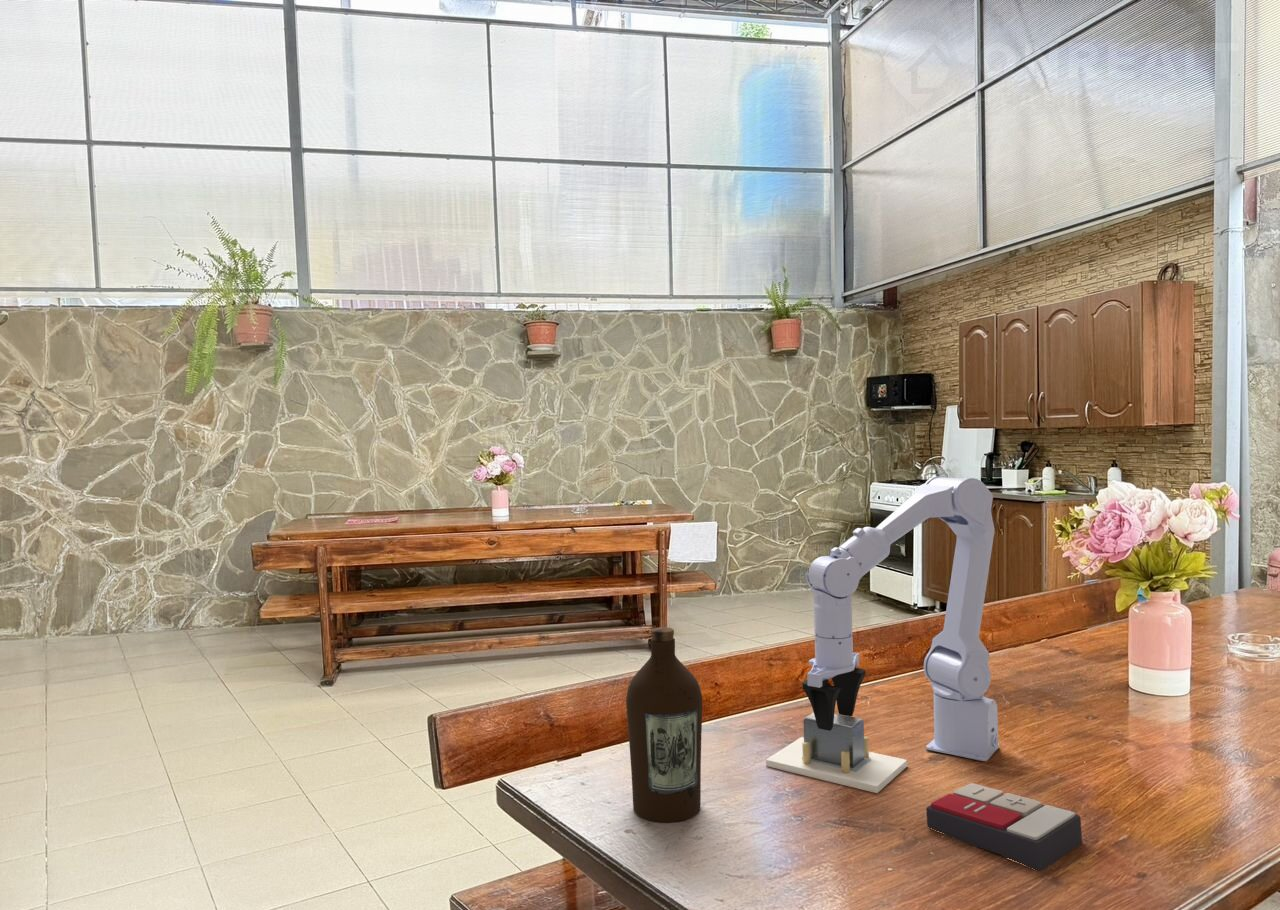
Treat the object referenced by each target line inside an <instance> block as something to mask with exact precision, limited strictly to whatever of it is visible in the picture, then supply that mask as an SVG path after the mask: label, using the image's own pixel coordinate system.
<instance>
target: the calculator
mask: <svg viewBox="0 0 1280 910" xmlns="http://www.w3.org/2000/svg"><path fill="white" fill-rule="evenodd" d="M925 810H926V826H928V827H929V828H932V829H934V830H936V831H939V832H942V833H944V834H946V835H948V836H947V837H949V836H950V837H949V838H951V837H953V838H952V839H954V838H955V839H954V840H957V841H959V840H960V842H962V843H965V844H967V843H968V844H967V845H971V846H974V847H976V848H980V849H982V850H986V851H988V852H991V853H995V854H997V855H1000V856H1002V857H1003V856H1004V857H1006V858H1009V859H1012V860H1014V861H1017V862H1019V863H1022V864H1024V865H1026V866H1028V867H1030V868H1029V869H1031V868H1033V869H1035V870H1034V871H1036V870H1037V871H1036V872H1043V871H1044V870H1045V868H1046V869H1047V868H1049V867H1050V866H1052V865H1053V864H1055V863H1056V862H1057V861H1059V860H1060V859H1062V858H1063V857H1064V855H1065V856H1066V855H1068V854H1069V853H1071V852H1072V851H1074V850H1075V849H1076V848H1078V847H1079V846H1080V845H1082V844H1083V838H1082V824H1081V823H1082V821H1081V820H1082V819H1081V815H1080V814H1077V813H1075V812H1074V811H1070V810H1067V809H1064V808H1061V807H1060V808H1059V807H1056V806H1052V805H1048V804H1047V805H1044V804H1043V802H1042V801H1039V800H1036V799H1032V798H1028V797H1024V796H1022V795H1017V794H1013V793H1009V792H1007V793H1004V791H1003V790H999V789H996V788H992V787H988V786H986V785H981V784H977V783H975V782H971V783H969V784H966V785H964V786H962V787H960V788H958V789H955V790H954V791H953V793H948V794H946V795H944V796H943V797H942V796H941V798H938V799H936V800H934V801H932V802H930V805H928V806H927V807H926V808H925ZM929 828H928V829H929ZM934 830H933V831H934ZM936 831H935V832H936ZM939 832H938V833H939ZM944 834H943V835H944ZM946 835H945V836H946ZM1067 853H1068V854H1067ZM1004 857H1003V858H1004ZM1061 857H1062V858H1061ZM1006 858H1005V859H1006ZM1049 865H1050V866H1049ZM1026 866H1025V867H1026ZM1048 866H1049V867H1048ZM1028 867H1027V868H1028ZM1033 869H1032V870H1033ZM1042 870H1043V871H1042Z"/></svg>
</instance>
